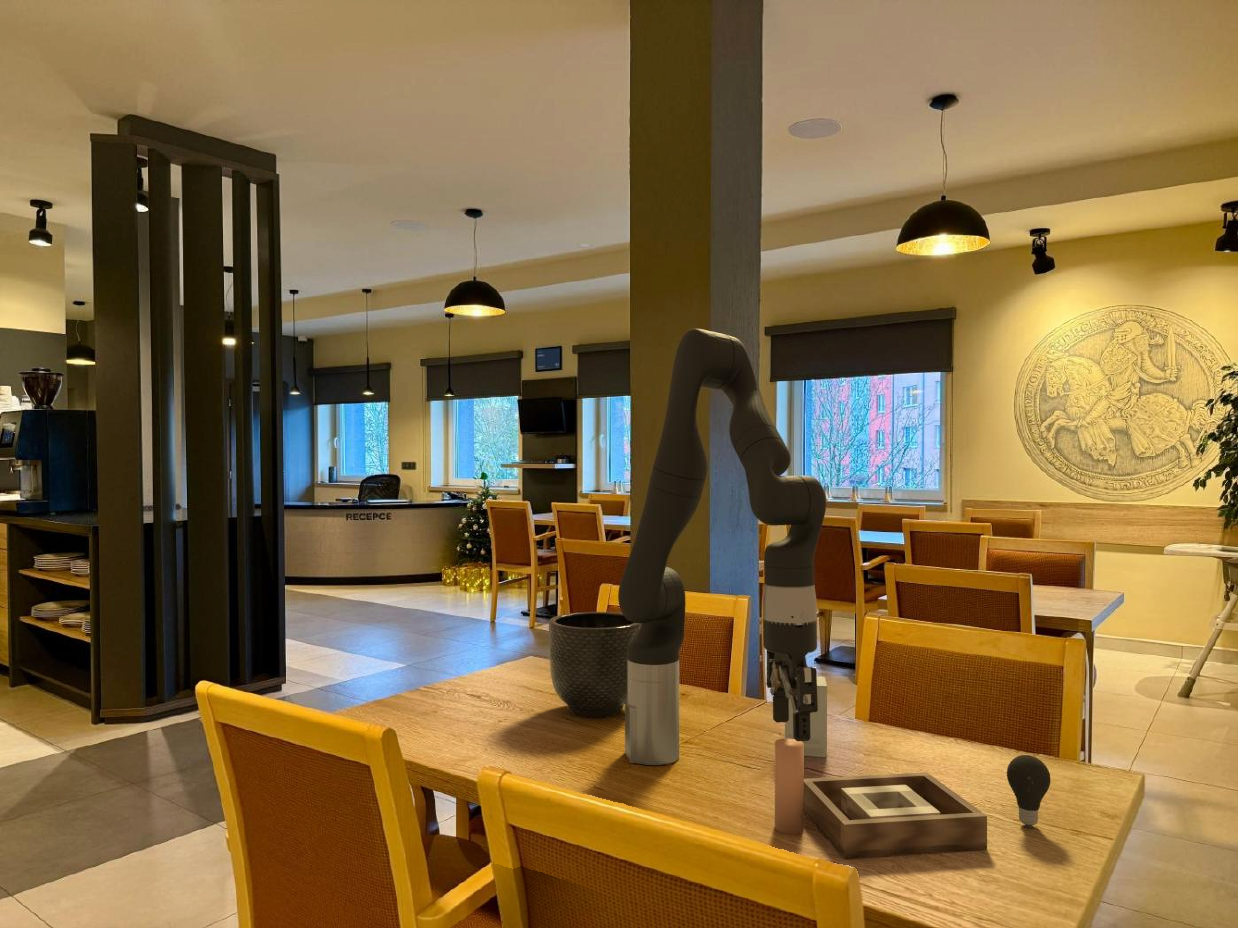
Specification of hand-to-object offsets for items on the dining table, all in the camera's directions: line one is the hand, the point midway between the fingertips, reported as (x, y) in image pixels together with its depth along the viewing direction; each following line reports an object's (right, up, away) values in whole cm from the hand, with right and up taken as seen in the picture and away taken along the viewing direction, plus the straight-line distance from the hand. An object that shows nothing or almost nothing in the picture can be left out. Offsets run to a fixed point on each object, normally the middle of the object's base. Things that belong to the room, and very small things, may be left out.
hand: (791, 730), depth 118 cm
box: (+14, -14, 0) cm, 19 cm away
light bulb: (+34, -14, +1) cm, 37 cm away
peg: (0, -14, 0) cm, 14 cm away
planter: (-29, -14, +57) cm, 65 cm away
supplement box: (+9, -14, +33) cm, 37 cm away
